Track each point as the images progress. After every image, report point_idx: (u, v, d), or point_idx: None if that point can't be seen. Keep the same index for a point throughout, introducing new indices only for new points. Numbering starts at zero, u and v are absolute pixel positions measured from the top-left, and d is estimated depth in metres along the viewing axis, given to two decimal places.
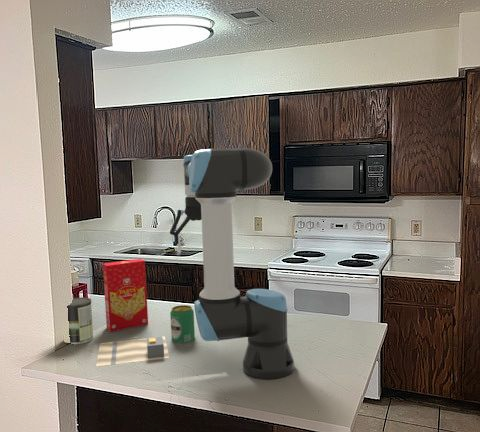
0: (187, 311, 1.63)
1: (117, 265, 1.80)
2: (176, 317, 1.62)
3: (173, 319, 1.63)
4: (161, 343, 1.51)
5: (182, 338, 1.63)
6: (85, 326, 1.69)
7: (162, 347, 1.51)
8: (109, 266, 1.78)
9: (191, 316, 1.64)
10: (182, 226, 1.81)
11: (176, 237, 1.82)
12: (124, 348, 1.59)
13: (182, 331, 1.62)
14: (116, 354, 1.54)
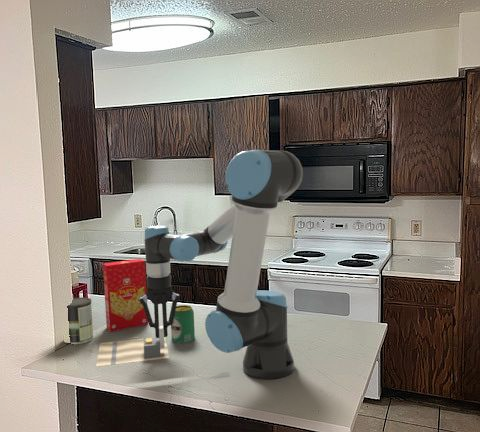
0: (187, 311, 1.63)
1: (117, 265, 1.80)
2: (176, 317, 1.62)
3: None
4: (158, 343, 1.51)
5: (182, 338, 1.63)
6: (85, 326, 1.69)
7: (158, 347, 1.50)
8: (109, 266, 1.78)
9: (191, 316, 1.64)
10: (156, 315, 1.52)
11: (157, 330, 1.53)
12: (124, 348, 1.59)
13: (182, 331, 1.62)
14: (116, 354, 1.54)
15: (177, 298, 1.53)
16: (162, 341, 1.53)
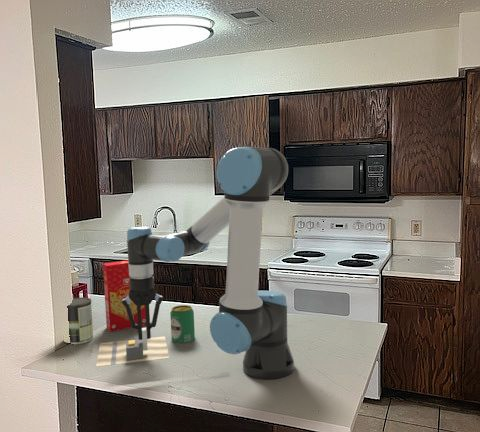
0: (187, 311, 1.63)
1: (117, 265, 1.80)
2: (176, 317, 1.62)
3: (173, 319, 1.63)
4: (140, 345, 1.50)
5: (182, 338, 1.63)
6: (85, 326, 1.69)
7: (141, 349, 1.49)
8: (109, 266, 1.78)
9: (191, 316, 1.64)
10: (139, 317, 1.51)
11: (140, 332, 1.52)
12: (124, 348, 1.59)
13: (182, 331, 1.62)
14: (116, 354, 1.54)
15: (160, 300, 1.52)
16: (145, 343, 1.52)
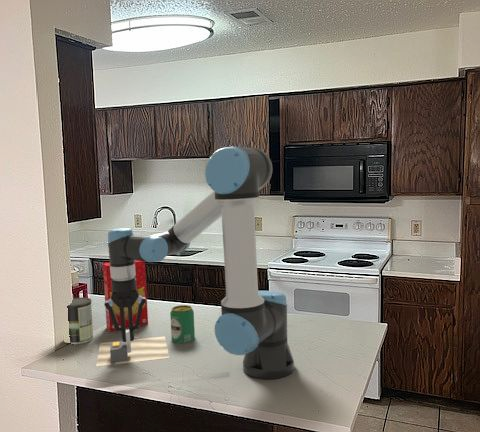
0: (187, 311, 1.63)
1: None
2: (176, 317, 1.62)
3: (173, 319, 1.63)
4: (124, 347, 1.49)
5: (182, 338, 1.63)
6: (85, 326, 1.69)
7: (125, 351, 1.48)
8: (109, 266, 1.78)
9: (191, 316, 1.64)
10: (122, 319, 1.50)
11: (123, 334, 1.51)
12: None
13: (182, 331, 1.62)
14: None
15: (143, 301, 1.50)
16: (128, 345, 1.51)
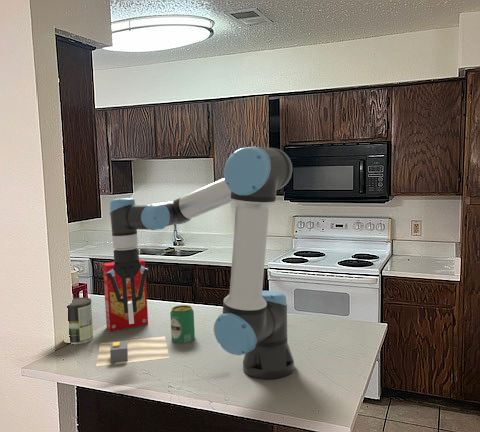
0: (187, 311, 1.63)
1: None
2: (176, 317, 1.62)
3: (173, 319, 1.63)
4: (124, 347, 1.49)
5: (182, 338, 1.63)
6: (85, 326, 1.69)
7: (125, 351, 1.48)
8: (109, 266, 1.78)
9: (191, 316, 1.64)
10: (124, 289, 1.48)
11: (125, 305, 1.49)
12: None
13: (182, 331, 1.62)
14: None
15: (145, 272, 1.49)
16: (131, 316, 1.49)
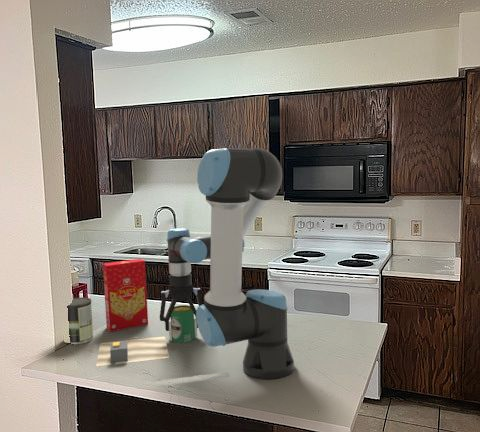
0: (187, 311, 1.63)
1: (117, 265, 1.80)
2: (176, 317, 1.62)
3: (173, 319, 1.63)
4: (124, 347, 1.49)
5: (182, 337, 1.63)
6: (85, 326, 1.69)
7: (125, 351, 1.48)
8: (109, 266, 1.78)
9: (191, 316, 1.64)
10: (170, 310, 1.64)
11: (167, 323, 1.64)
12: None
13: (182, 331, 1.62)
14: None
15: (199, 292, 1.65)
16: (195, 331, 1.66)
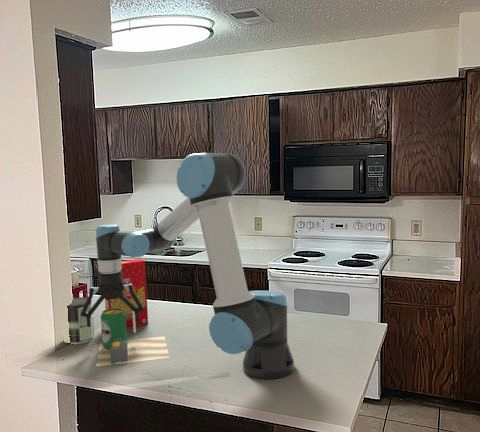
0: (117, 314, 1.58)
1: None
2: (106, 320, 1.57)
3: (102, 322, 1.58)
4: (124, 347, 1.49)
5: (112, 341, 1.58)
6: (85, 326, 1.69)
7: (125, 351, 1.48)
8: None
9: (122, 319, 1.59)
10: (95, 306, 1.58)
11: (88, 319, 1.58)
12: None
13: (111, 335, 1.57)
14: None
15: (130, 287, 1.60)
16: (133, 326, 1.61)
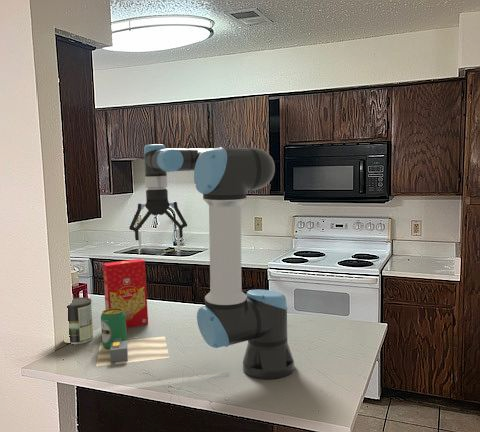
0: (117, 314, 1.58)
1: (117, 265, 1.80)
2: (106, 320, 1.57)
3: (102, 322, 1.58)
4: (124, 347, 1.49)
5: (112, 341, 1.58)
6: (85, 326, 1.69)
7: (125, 351, 1.48)
8: (109, 266, 1.78)
9: (122, 319, 1.59)
10: (142, 221, 1.69)
11: (136, 233, 1.69)
12: None
13: (111, 335, 1.57)
14: None
15: (175, 204, 1.71)
16: (178, 241, 1.72)
